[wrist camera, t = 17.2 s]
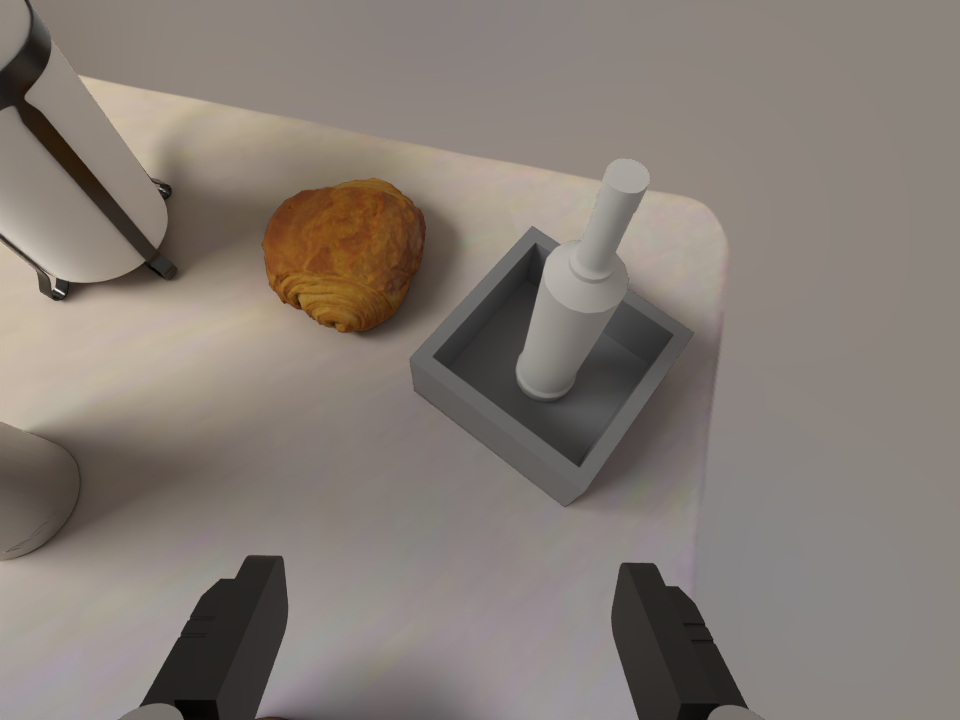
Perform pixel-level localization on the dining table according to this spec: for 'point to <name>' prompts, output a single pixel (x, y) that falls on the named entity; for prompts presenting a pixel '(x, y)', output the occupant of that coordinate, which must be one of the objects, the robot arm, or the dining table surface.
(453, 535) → the dining table surface
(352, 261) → the croissant
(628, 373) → the charcoal tub
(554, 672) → the dining table surface
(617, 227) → the bottle
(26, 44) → the coffee press
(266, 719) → the food container
